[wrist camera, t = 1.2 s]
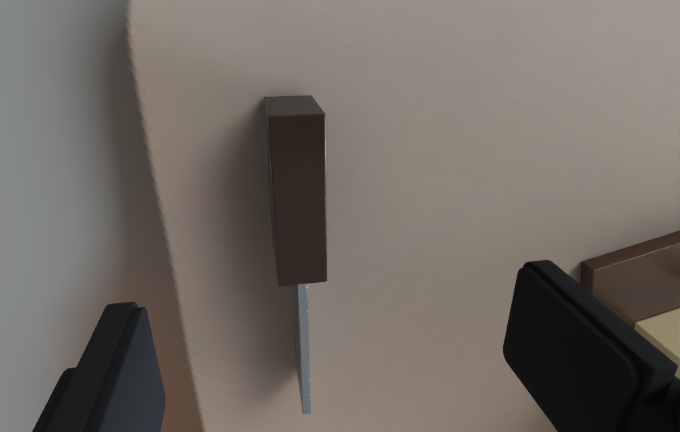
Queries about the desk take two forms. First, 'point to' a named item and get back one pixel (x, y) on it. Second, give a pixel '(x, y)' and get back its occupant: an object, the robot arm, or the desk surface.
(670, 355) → the cake
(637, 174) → the desk surface
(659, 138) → the desk surface
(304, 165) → the knife
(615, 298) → the cake board
